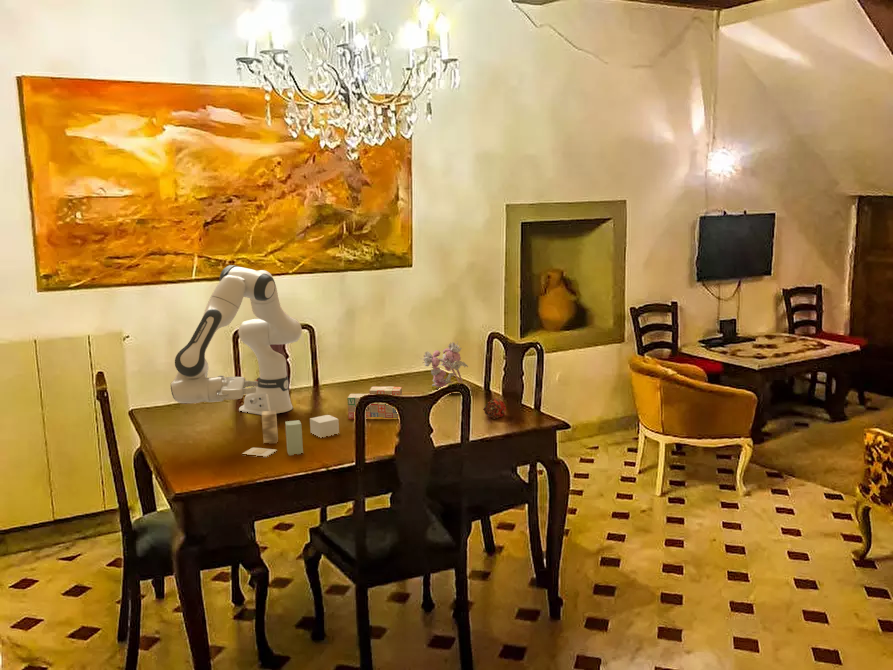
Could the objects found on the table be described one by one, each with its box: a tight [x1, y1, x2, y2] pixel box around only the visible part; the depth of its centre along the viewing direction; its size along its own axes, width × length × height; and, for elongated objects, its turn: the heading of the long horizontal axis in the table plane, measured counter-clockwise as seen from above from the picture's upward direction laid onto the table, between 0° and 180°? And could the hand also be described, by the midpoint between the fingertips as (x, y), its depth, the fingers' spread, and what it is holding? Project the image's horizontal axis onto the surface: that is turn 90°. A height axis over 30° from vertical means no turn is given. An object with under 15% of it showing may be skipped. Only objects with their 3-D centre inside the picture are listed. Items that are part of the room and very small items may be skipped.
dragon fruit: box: [482, 397, 507, 420], centre depth 341 cm, size 8×8×12 cm
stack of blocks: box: [347, 385, 403, 420], centre depth 345 cm, size 21×6×12 cm, turn 84°
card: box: [241, 446, 278, 458], centre depth 306 cm, size 10×7×1 cm
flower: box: [419, 341, 469, 389], centre depth 382 cm, size 20×22×25 cm
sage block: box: [285, 419, 304, 456], centre depth 305 cm, size 5×5×11 cm
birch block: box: [261, 411, 279, 444], centre depth 318 cm, size 5×5×11 cm
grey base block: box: [309, 414, 340, 439], centre depth 326 cm, size 8×8×6 cm
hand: (257, 386), depth 312 cm, fingers open, 8 cm apart
